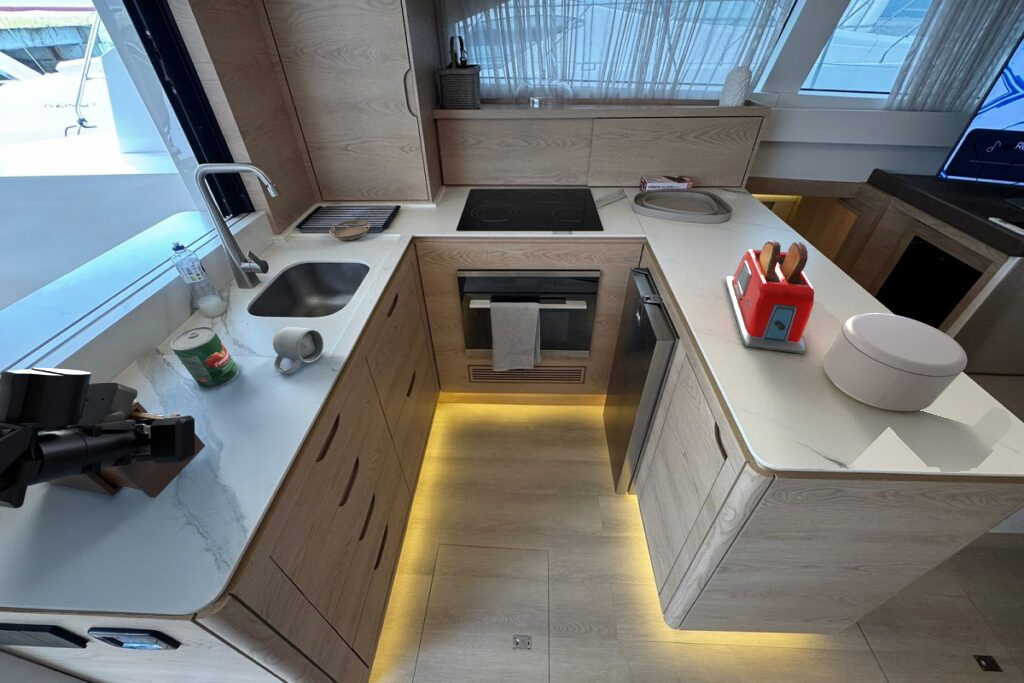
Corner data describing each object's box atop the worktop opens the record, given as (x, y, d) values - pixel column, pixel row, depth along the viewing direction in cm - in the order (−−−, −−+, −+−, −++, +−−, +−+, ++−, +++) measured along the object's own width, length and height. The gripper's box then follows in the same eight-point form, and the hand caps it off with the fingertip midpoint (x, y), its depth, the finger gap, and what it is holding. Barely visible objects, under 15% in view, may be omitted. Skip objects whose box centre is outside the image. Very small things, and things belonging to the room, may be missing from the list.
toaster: (806, 355, 87) (849, 281, 75) (743, 347, 90) (774, 274, 78) (773, 284, 111) (801, 219, 99) (724, 279, 114) (746, 215, 102)
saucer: (333, 245, 140) (330, 238, 139) (329, 231, 151) (327, 224, 149) (374, 237, 145) (373, 230, 143) (368, 224, 156) (367, 217, 154)
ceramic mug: (300, 343, 96) (287, 318, 91) (328, 348, 94) (317, 323, 89) (268, 373, 88) (252, 346, 83) (298, 379, 86) (284, 352, 81)
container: (798, 362, 85) (823, 318, 78) (865, 347, 88) (895, 303, 81) (878, 425, 71) (917, 379, 64) (954, 405, 74) (1000, 358, 67)
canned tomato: (239, 380, 86) (214, 341, 79) (197, 394, 83) (167, 355, 76) (238, 360, 91) (214, 322, 85) (199, 372, 88) (171, 334, 82)
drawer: (227, 449, 70) (201, 416, 65) (178, 503, 62) (144, 471, 57) (149, 436, 73) (118, 404, 68) (93, 486, 65) (53, 454, 60)
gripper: (142, 382, 49) (229, 379, 64) (-13, 392, 48) (113, 387, 64) (142, 473, 48) (230, 448, 64) (-16, 485, 47) (112, 457, 63)
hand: (171, 433), depth 63 cm, fingers closed
